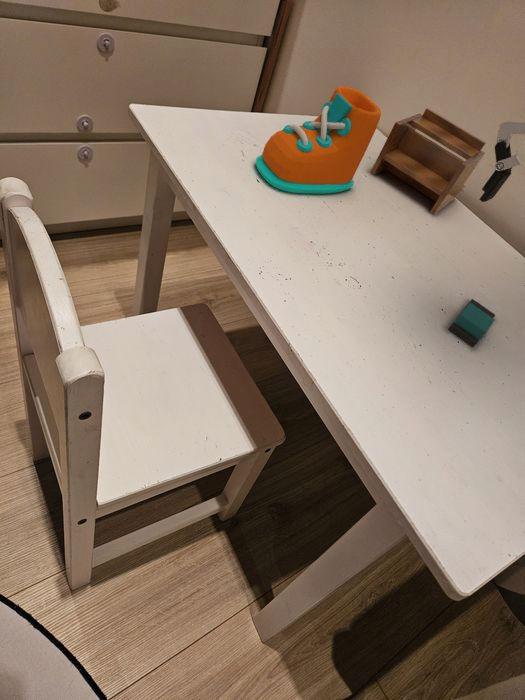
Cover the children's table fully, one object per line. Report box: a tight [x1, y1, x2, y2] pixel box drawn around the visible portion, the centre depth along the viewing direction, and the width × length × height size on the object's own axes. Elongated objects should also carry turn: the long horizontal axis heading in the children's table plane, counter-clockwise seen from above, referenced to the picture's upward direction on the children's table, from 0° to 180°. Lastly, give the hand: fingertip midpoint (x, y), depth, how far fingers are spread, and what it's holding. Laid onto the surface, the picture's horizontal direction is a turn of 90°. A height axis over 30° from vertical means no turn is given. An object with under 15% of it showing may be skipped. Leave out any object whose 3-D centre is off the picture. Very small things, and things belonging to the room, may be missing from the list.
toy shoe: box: [255, 85, 382, 195], centre depth 82 cm, size 12×20×15 cm, turn 117°
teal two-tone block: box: [447, 298, 496, 348], centre depth 72 cm, size 10×4×3 cm, turn 141°
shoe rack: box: [369, 107, 487, 216], centre depth 94 cm, size 16×12×13 cm
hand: (516, 221), depth 59 cm, fingers open, 9 cm apart
